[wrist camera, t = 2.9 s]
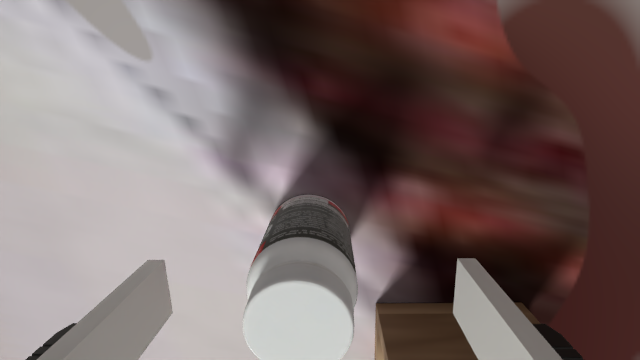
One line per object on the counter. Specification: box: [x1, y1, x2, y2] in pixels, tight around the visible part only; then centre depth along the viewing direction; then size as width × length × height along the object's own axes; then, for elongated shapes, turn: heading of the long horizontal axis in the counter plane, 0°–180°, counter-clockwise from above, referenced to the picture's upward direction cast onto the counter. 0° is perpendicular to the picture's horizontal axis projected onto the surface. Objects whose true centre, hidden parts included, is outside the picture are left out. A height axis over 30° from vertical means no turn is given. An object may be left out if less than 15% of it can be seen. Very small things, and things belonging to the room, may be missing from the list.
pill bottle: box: [243, 195, 358, 360], centre depth 16 cm, size 5×5×8 cm
